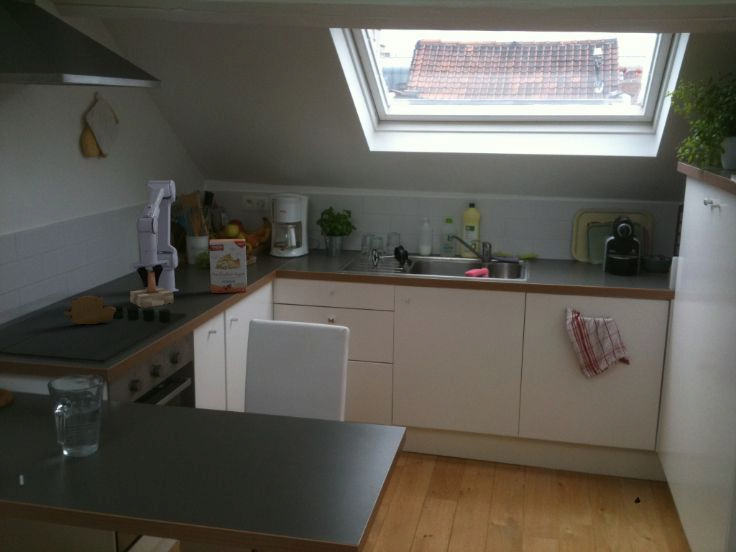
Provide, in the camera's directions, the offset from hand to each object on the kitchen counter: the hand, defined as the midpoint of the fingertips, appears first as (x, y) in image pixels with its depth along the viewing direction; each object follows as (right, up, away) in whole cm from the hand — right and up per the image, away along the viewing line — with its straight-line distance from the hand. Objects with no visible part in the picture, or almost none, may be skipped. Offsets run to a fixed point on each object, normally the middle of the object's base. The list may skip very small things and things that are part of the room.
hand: (150, 286), depth 277 cm
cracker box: (+26, -3, +19) cm, 32 cm away
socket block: (0, -6, +1) cm, 6 cm away
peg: (0, -3, 0) cm, 3 cm away
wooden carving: (-11, -12, -29) cm, 34 cm away
